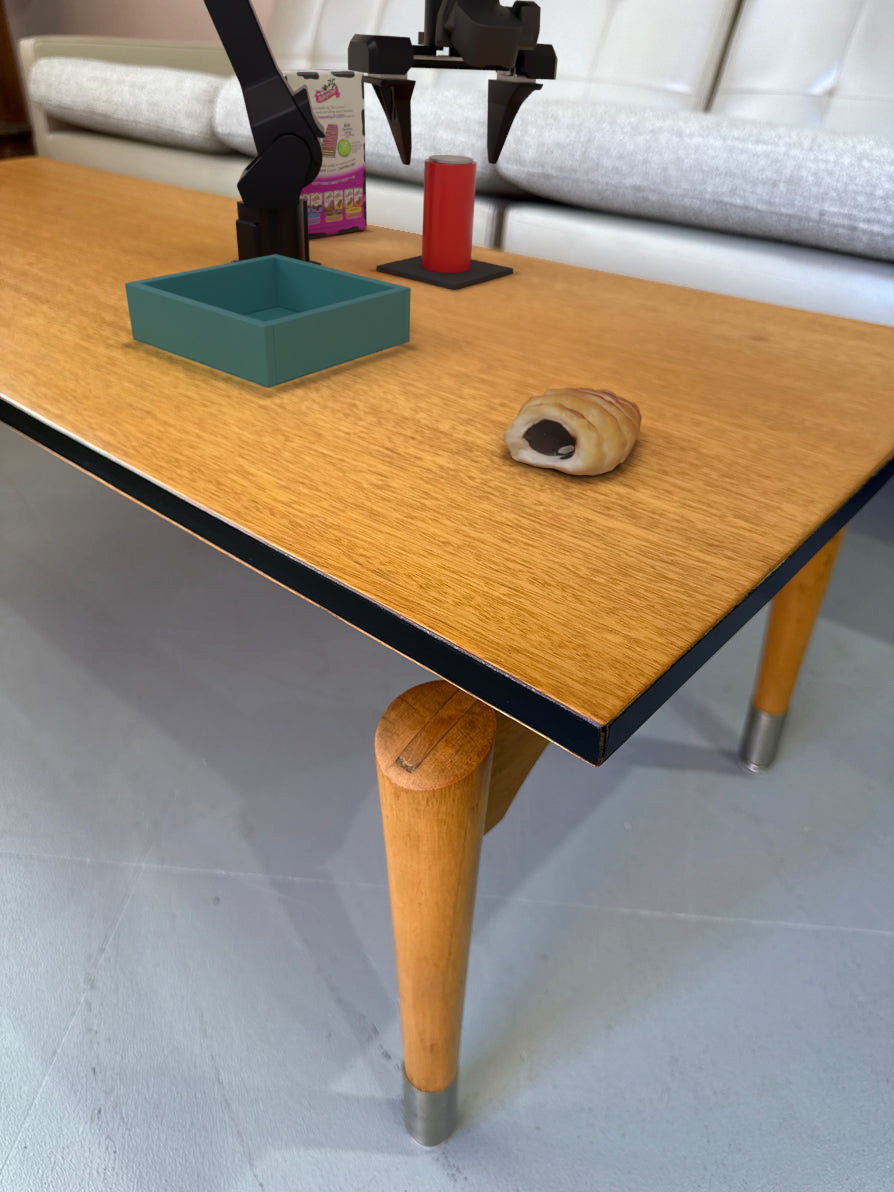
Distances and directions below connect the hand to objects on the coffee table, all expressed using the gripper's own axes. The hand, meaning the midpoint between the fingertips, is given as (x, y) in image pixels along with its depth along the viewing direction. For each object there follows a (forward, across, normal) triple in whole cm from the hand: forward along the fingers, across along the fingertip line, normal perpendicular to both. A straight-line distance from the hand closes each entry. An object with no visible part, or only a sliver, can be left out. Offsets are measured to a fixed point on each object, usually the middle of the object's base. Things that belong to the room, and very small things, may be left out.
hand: (450, 164), depth 83 cm
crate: (+10, -23, -18) cm, 31 cm away
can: (+9, 0, 0) cm, 9 cm away
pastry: (+10, -12, -43) cm, 46 cm away
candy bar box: (+10, -6, +22) cm, 25 cm away
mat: (+10, 0, 0) cm, 10 cm away
